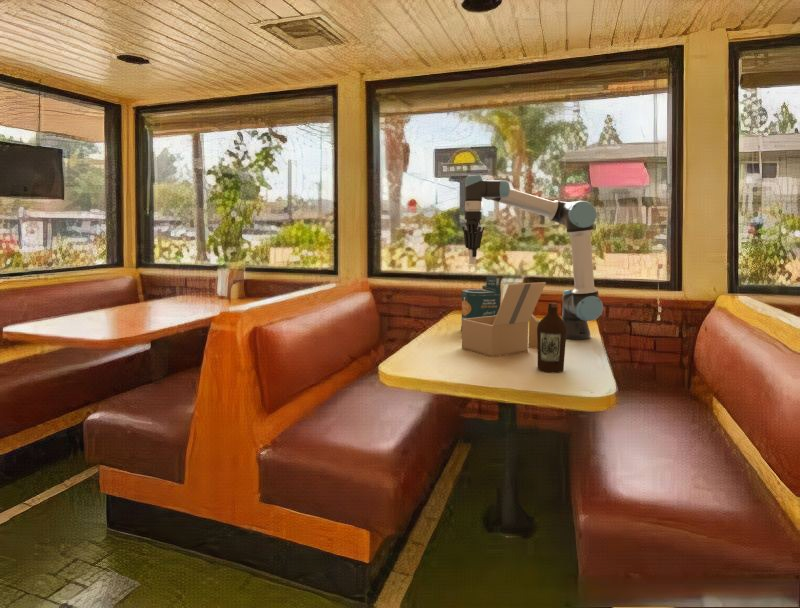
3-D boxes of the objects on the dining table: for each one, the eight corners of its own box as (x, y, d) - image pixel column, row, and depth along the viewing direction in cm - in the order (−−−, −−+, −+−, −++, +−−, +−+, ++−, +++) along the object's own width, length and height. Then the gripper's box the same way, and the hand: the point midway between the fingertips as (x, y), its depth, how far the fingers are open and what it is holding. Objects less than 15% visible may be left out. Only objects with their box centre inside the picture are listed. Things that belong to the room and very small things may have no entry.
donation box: (499, 333, 279) (500, 278, 275) (469, 335, 274) (470, 278, 271) (485, 328, 294) (487, 275, 290) (457, 329, 290) (458, 276, 286)
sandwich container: (564, 349, 242) (565, 315, 240) (528, 347, 246) (529, 314, 244) (563, 345, 251) (564, 312, 249) (528, 343, 254) (529, 311, 252)
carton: (461, 348, 244) (462, 319, 242) (496, 343, 254) (497, 315, 253) (491, 357, 227) (492, 325, 225) (527, 351, 237) (528, 321, 236)
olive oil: (537, 365, 213) (540, 300, 210) (566, 367, 209) (569, 302, 206) (533, 371, 203) (536, 304, 200) (563, 374, 200) (566, 305, 196)
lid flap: (508, 284, 215) (509, 285, 215) (545, 281, 225) (546, 282, 225) (492, 325, 225) (493, 325, 225) (528, 320, 235) (528, 321, 235)
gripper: (457, 211, 250) (457, 263, 253) (475, 210, 239) (475, 265, 242) (470, 211, 254) (470, 263, 257) (489, 210, 243) (488, 264, 246)
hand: (472, 264), depth 249 cm, fingers closed
